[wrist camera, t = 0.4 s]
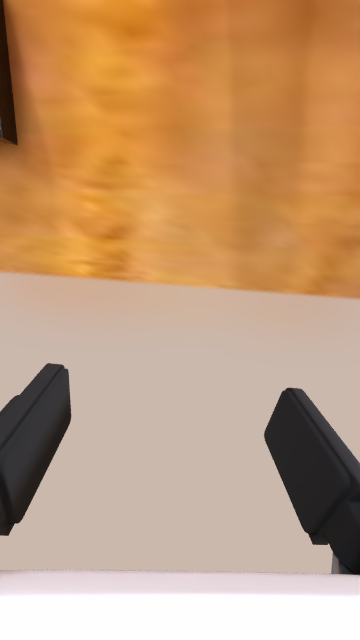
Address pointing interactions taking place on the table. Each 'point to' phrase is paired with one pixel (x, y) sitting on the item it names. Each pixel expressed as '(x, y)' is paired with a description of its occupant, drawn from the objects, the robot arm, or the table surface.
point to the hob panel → (6, 88)
